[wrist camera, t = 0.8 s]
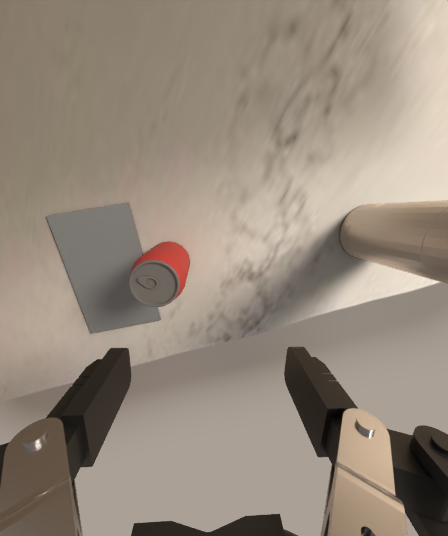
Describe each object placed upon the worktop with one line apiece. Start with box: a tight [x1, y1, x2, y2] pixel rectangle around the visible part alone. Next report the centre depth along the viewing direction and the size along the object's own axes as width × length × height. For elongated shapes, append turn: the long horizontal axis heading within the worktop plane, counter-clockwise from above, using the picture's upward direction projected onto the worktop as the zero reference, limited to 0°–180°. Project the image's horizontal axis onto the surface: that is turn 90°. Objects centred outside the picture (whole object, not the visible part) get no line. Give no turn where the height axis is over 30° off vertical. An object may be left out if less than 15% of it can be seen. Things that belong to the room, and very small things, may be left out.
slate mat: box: [46, 203, 161, 334], centre depth 34 cm, size 12×20×1 cm, turn 9°
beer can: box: [129, 242, 190, 307], centre depth 29 cm, size 7×7×12 cm
